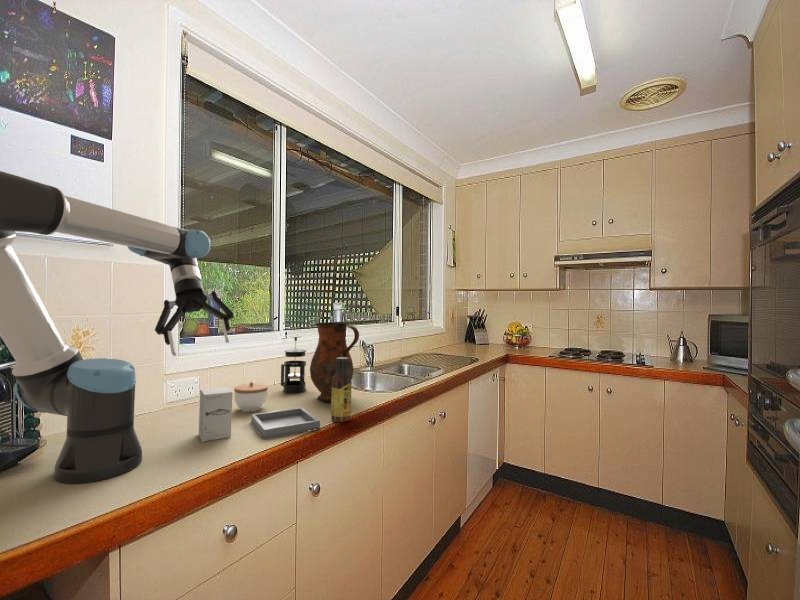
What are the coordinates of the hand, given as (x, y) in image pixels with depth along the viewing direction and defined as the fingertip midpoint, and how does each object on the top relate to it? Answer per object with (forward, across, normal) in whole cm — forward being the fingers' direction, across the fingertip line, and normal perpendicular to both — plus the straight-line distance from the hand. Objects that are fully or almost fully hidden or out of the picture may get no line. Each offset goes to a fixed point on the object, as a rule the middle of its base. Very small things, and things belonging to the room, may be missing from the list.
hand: (201, 347), depth 106 cm
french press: (+8, -26, -51) cm, 58 cm away
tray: (+27, -16, -11) cm, 33 cm away
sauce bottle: (+31, -33, -13) cm, 47 cm away
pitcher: (+20, -38, -34) cm, 55 cm away
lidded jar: (+15, -8, -30) cm, 34 cm away
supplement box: (+24, +2, -8) cm, 25 cm away
